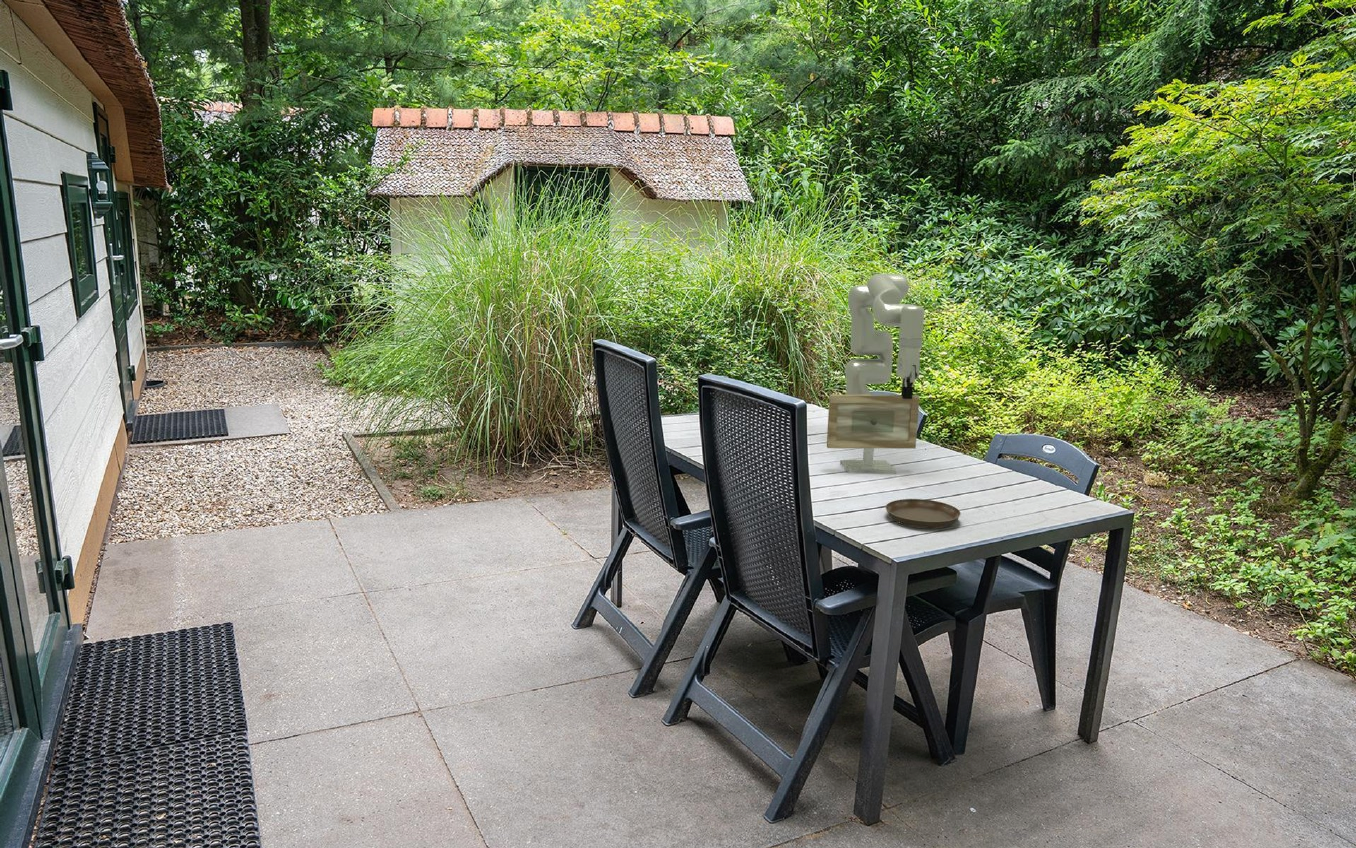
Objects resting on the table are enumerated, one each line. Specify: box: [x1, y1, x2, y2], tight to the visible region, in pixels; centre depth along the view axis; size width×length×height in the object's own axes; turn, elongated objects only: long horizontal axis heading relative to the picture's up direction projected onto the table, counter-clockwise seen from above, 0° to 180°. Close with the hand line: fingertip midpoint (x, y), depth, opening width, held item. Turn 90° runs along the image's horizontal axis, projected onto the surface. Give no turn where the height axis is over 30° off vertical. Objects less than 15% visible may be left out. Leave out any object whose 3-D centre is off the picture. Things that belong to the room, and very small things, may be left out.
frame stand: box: [839, 448, 897, 475], centre depth 317 cm, size 12×16×18 cm
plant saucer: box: [885, 498, 962, 530], centre depth 265 cm, size 21×21×3 cm
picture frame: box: [826, 393, 920, 450], centre depth 313 cm, size 3×30×18 cm, turn 94°
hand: (906, 398), depth 312 cm, fingers closed
